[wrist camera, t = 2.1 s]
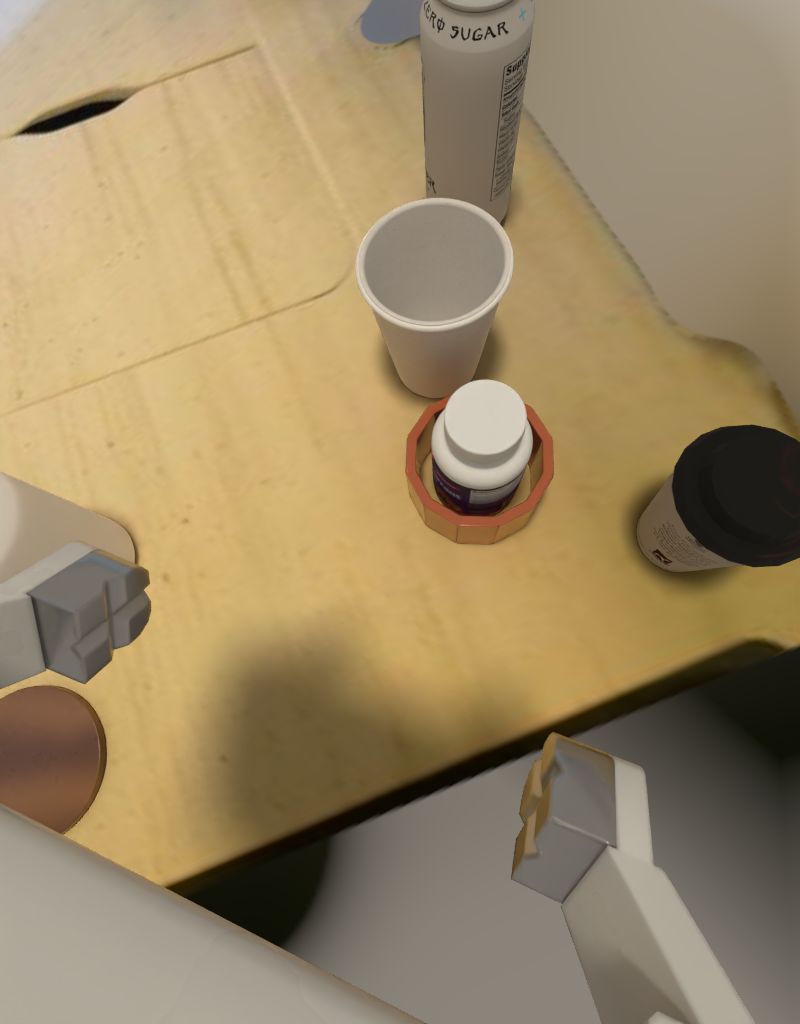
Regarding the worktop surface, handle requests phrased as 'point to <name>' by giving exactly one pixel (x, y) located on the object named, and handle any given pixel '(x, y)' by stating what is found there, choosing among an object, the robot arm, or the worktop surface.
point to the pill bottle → (480, 448)
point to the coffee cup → (727, 503)
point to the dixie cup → (435, 288)
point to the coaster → (50, 755)
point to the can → (49, 527)
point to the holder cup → (475, 526)
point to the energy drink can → (473, 96)
